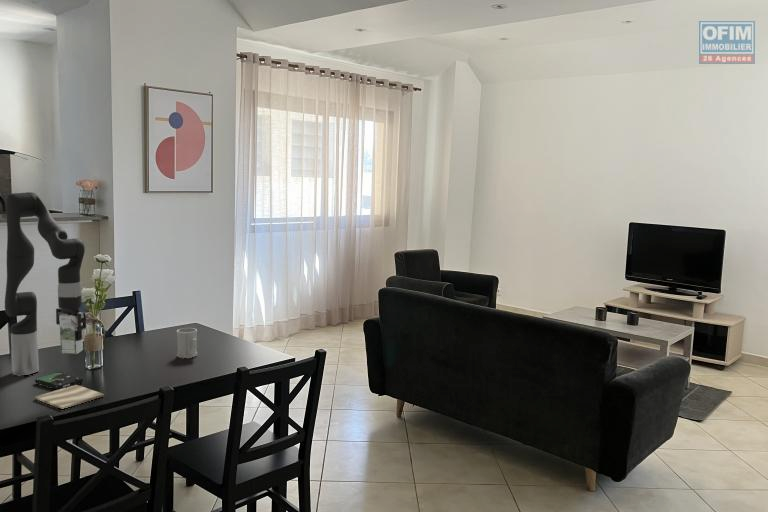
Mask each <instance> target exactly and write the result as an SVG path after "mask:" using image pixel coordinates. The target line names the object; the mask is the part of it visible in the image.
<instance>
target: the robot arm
mask: <svg viewBox="0 0 768 512" xmlns="http://www.w3.org/2000/svg"><path fill="white" fill-rule="evenodd" d="M5 215H6V230H7V232H6V233H7V235H6V236H7V238H6V239H7V240H6V241H7V244H6V283H5V284H6V285H5V295H4V312H5V313H6V315H7V316H8V317H22V316H25V317H23V319H22V320H19V321H18V322H15V323H13V324H12V325H11V326H10V329H9V330H10V345H11V346H10V347H11V351H10V353H11V372H12V371H13V373H12V375H13V374H16V375H22V374H30V373H35V372H37V371H39V372H40V370H39V369H40V368H39V363H40V362H39V347H38V346H39V344H38V321H37V320H38V314H37V313H38V301H37V299H38V298H37V295H36V293H35V292H33V291H23V292H18V290H19V288H20V285H21V283H22V281H24V279H25V278H26V277H27V275H28V274H29V273H30V271H31V270H32V269H33V267H34V264H35V248H34V244H33V243H32V242H31V240H30V239H29V238H28V237H27V235H26V234H25V232H24V231H23V229H22V227H21V226H22V225H21V218H31V217H36V218H38V221H37V231H38V233H39V235H40V236H41V237H42V238H43V239H44V241H45V242H47V244H48V247H49V249H50V252H51V255H52V256H53V257H54V258H55V259H57V260H69V261H68V263H66V264H64V265H60V266H59V267H58V270H57V282H58V283H57V284H58V285H57V299H58V300H57V301H58V302H57V303H58V308H56V309H55V317H56V318H55V323H56V325H59V327H60V321H59V315H61V314H67V315H68V316H69V315H73V316H75V317H76V316H77V317H76V318H77V322H76V323H75V322H74V321H73V320H72V319H71V325H72V326H74V329H75V340H76V341H79V340H83V330H85V329H87V319H86V318H87V317H86V312H85V311H82V312H81V311H80V308H81V307H83V306H82V305H83V302H82V301H83V299H82V298H83V297H82V284H81V269H82V263H83V259H84V256H85V251H86V248H85V244H84V242H83V241H82V240H81V239H80V238H69V237H68V233H67V232H66V231H65V229H64V228H63V227H62V226H61V225H59V224H58V222H57V221H56V220H55V219H54V218H53V216H52V214H51V213H50V210H49V209H48V206H46V204H45V203H44V201H43V200H42V199H41V196H39V194H36V192H30V191H29V192H14V193H9V194H8V195H7V196H6V200H5ZM80 312H81V313H80ZM81 323H82V324H81ZM76 324H77V325H78V327H77V325H76Z"/></svg>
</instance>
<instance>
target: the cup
mask: <svg viewBox="0 0 768 512" xmlns="http://www.w3.org/2000/svg"><path fill="white" fill-rule="evenodd" d="M176 336H177V337H176V338H177V352H176V357H178V358H179V359H184V358H187V359H193V358H195V356H196V357H197V356H198V351H197V348H198V339H197V337H198V329H197V328H196V327H195V328H194V327H185V328H184V327H183V328H179V329H177V330H176ZM192 357H193V358H192Z"/></svg>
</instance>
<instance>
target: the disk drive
mask: <svg viewBox="0 0 768 512" xmlns="http://www.w3.org/2000/svg"><path fill="white" fill-rule="evenodd" d="M35 382H36V383H38V384H42V385H45V386H48V387H52V388H55V389H59V390H60V389H63V388H66V387H70V386H73V385H76V384H79V383H82V382H83V383H84V377H79V376H77V375H72V374H69V373H64V372H61V371H57V372H53V373H50V374H47V375H43V376H41V377H36V378H35V379H34V383H35Z"/></svg>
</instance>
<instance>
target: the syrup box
mask: <svg viewBox="0 0 768 512" xmlns="http://www.w3.org/2000/svg"><path fill="white" fill-rule="evenodd" d="M79 312H80V313H82V311H79ZM76 317H77V316H76ZM76 317H75V316H73V315H69V316H68V315H67V314H61V315H59V321H60V326H59V337H60V338H59V339H60V340H59V341H60V343H59V344H60V354H62V355H77V354H80V353H81V352H82V351H83V350H84V347H83V346H84V342H83V339H82V340H79V341H76V340H75V329H74V326H72V325H71V319H72V320H73V321H74V322H75V323H76V322H77V318H76ZM81 324H82V325H83V323H81ZM76 325H77V324H76ZM77 327H78V325H77Z"/></svg>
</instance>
